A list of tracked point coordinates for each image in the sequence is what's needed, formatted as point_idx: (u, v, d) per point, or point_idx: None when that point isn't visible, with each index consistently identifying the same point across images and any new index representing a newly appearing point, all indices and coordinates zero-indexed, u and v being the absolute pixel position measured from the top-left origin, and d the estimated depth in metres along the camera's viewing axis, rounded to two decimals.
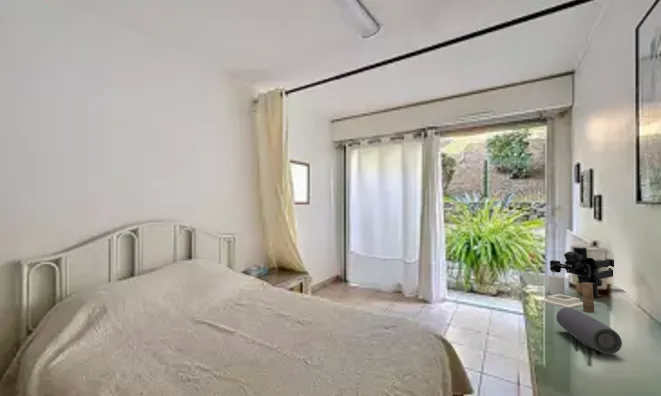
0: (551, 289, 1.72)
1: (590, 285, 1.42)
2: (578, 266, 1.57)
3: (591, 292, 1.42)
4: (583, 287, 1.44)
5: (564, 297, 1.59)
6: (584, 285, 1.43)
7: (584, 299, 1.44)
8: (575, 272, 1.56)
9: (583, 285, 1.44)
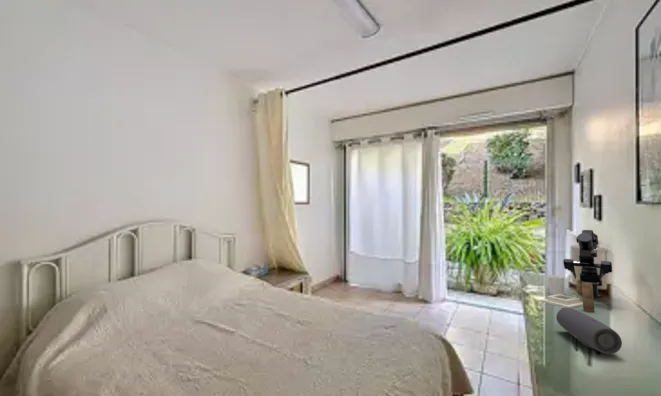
0: (551, 289, 1.72)
1: (590, 285, 1.42)
2: (602, 268, 1.49)
3: (591, 292, 1.42)
4: (583, 287, 1.44)
5: (564, 297, 1.59)
6: (584, 285, 1.43)
7: (584, 299, 1.44)
8: (602, 276, 1.49)
9: (583, 285, 1.44)
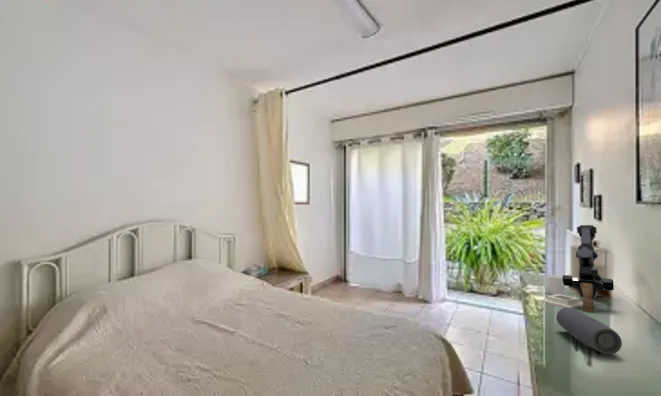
0: (551, 289, 1.72)
1: (590, 285, 1.42)
2: (596, 285, 1.43)
3: (591, 292, 1.42)
4: (583, 287, 1.44)
5: (564, 297, 1.59)
6: (584, 285, 1.43)
7: (584, 299, 1.44)
8: (596, 293, 1.43)
9: (583, 285, 1.44)
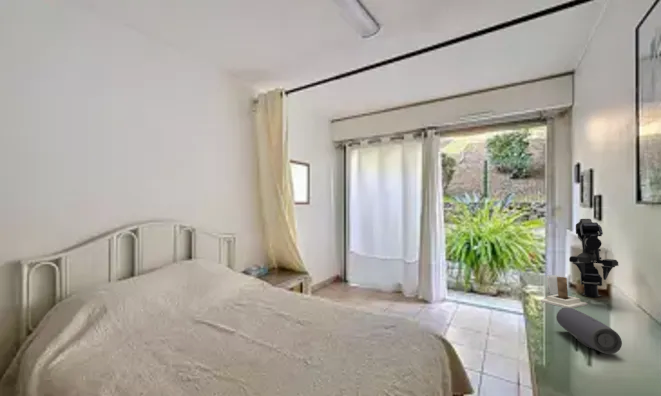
0: (551, 289, 1.72)
1: (563, 279, 1.56)
2: (604, 268, 1.49)
3: (564, 286, 1.55)
4: (557, 281, 1.58)
5: None
6: (558, 279, 1.57)
7: (558, 292, 1.58)
8: (607, 273, 1.50)
9: (557, 279, 1.58)
